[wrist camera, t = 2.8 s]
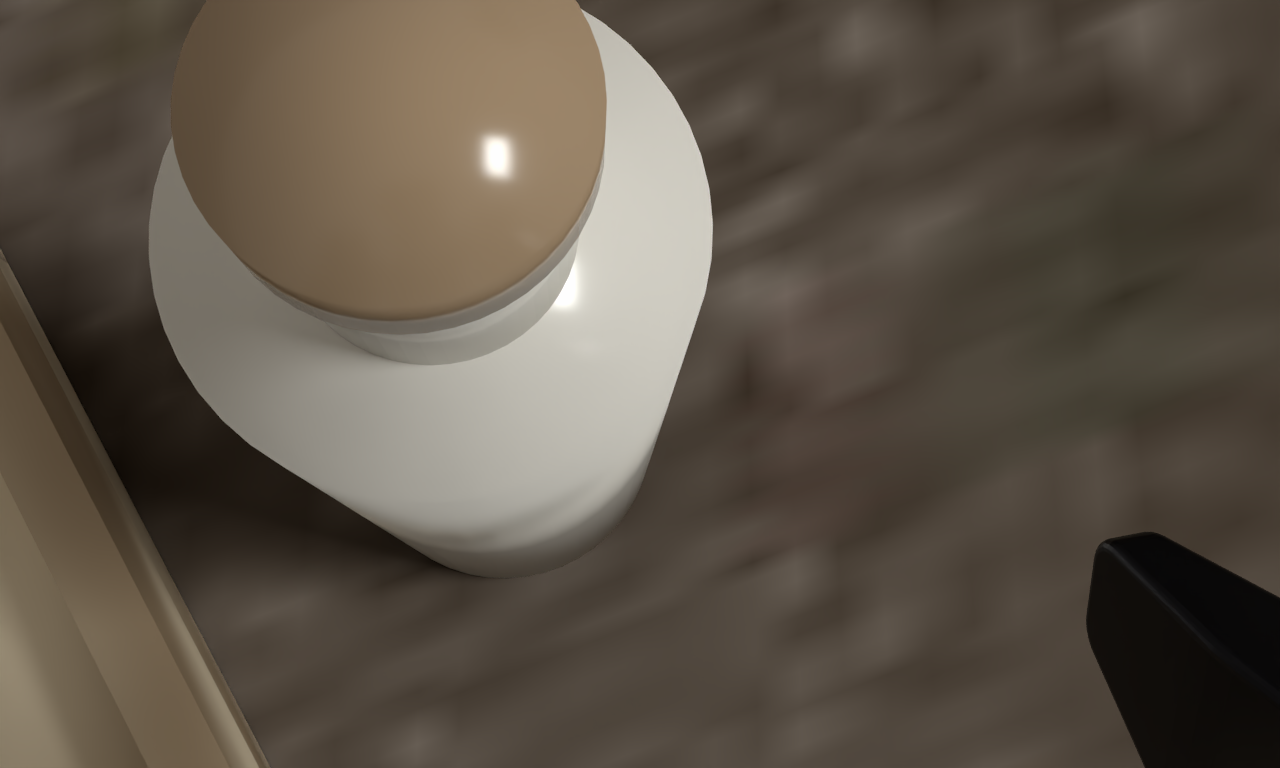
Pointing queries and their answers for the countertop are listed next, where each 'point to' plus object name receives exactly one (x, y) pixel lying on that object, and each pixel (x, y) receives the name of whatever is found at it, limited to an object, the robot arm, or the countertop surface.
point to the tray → (90, 594)
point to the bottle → (434, 261)
